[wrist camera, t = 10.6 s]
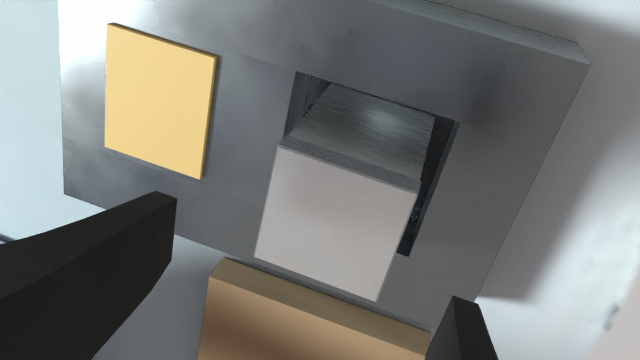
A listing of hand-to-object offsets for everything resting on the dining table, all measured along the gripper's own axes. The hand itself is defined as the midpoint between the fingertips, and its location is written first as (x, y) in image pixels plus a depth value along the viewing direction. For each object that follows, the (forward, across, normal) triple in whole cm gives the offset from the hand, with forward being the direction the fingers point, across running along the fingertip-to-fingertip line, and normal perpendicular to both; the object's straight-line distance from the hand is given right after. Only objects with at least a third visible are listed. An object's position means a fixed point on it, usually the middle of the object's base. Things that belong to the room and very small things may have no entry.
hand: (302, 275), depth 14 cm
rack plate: (+9, +3, 0) cm, 9 cm away
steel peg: (+9, 0, 0) cm, 9 cm away
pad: (+9, 0, +12) cm, 15 cm away
